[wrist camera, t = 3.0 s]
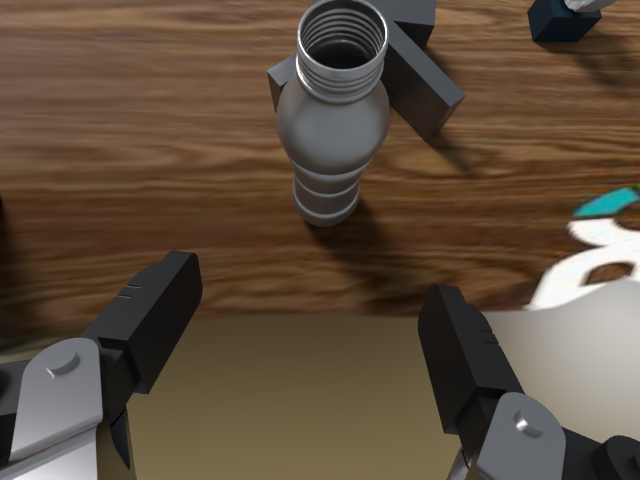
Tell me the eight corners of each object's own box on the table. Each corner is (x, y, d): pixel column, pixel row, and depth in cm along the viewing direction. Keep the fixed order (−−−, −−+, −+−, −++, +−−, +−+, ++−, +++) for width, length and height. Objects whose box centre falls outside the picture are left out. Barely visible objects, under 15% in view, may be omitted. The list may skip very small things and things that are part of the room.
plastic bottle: (368, 201, 31) (462, 34, 12) (322, 245, 30) (340, 141, 11) (326, 160, 32) (347, -61, 13) (279, 201, 31) (223, 30, 11)
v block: (273, 123, 33) (264, 84, 27) (290, 21, 36) (285, -34, 30) (438, 143, 33) (465, 108, 27) (442, 39, 36) (468, -12, 30)
